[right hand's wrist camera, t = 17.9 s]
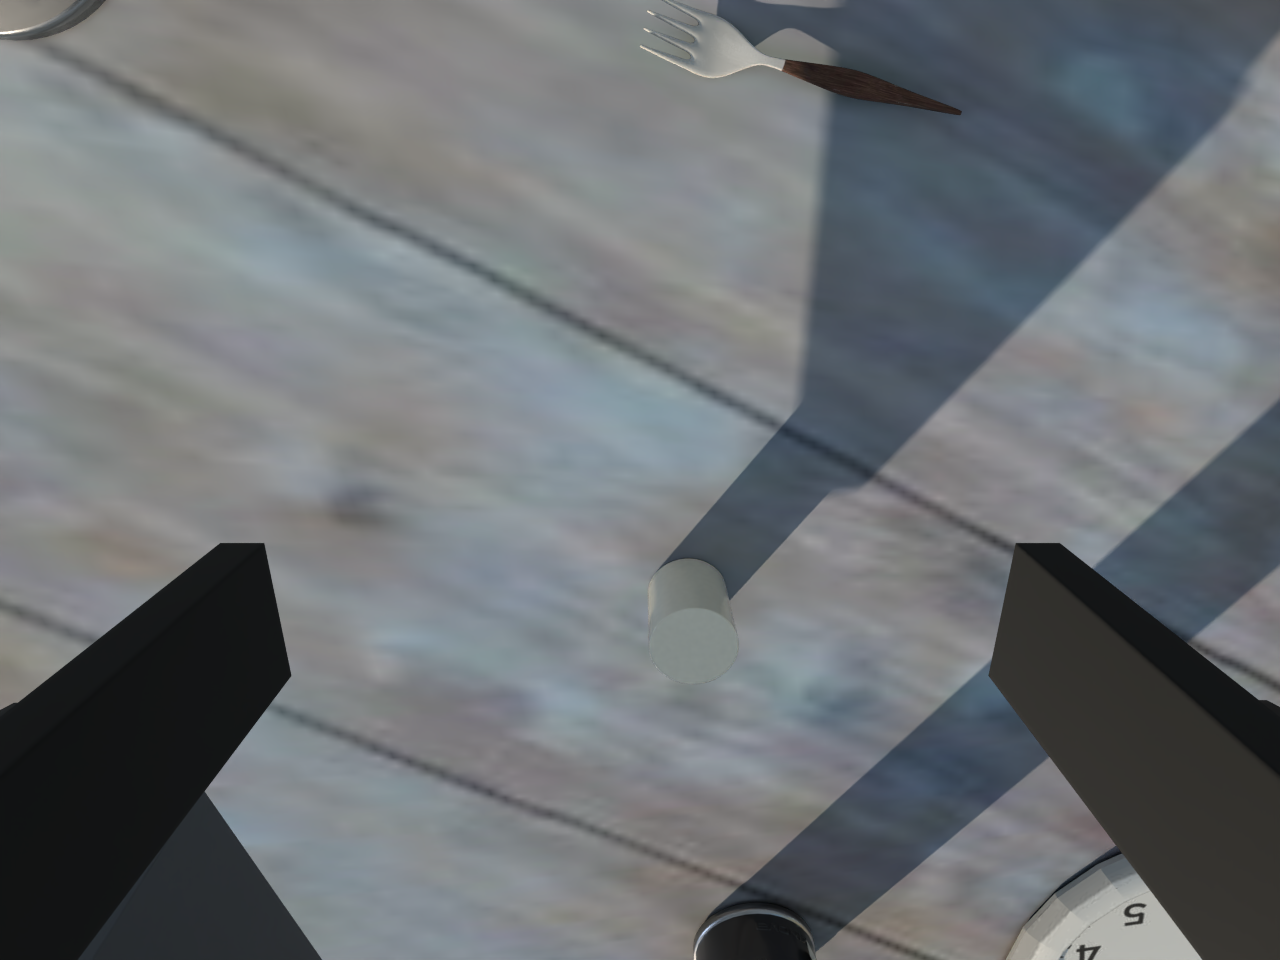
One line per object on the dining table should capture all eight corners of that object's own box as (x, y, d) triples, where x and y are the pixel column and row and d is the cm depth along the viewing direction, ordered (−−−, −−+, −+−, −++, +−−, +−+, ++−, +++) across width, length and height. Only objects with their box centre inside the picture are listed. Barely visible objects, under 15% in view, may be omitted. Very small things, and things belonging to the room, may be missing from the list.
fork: (946, 143, 36) (963, 139, 34) (638, 60, 35) (638, 51, 33) (966, 85, 35) (985, 78, 33) (651, -2, 34) (652, -15, 32)
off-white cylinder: (648, 557, 44) (649, 608, 39) (728, 557, 44) (741, 608, 39) (647, 627, 46) (648, 684, 40) (725, 627, 46) (736, 685, 40)
